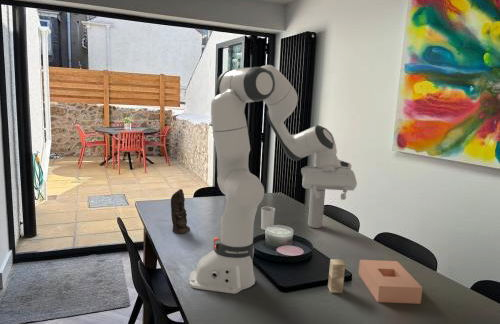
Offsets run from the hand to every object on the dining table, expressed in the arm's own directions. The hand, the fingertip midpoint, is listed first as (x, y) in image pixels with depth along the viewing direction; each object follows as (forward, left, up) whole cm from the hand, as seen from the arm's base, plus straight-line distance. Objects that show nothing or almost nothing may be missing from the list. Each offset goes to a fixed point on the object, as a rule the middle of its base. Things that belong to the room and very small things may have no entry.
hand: (330, 198), depth 139 cm
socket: (+19, -13, -27) cm, 36 cm away
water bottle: (+6, +50, -28) cm, 57 cm away
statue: (-60, +34, -28) cm, 74 cm away
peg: (0, -16, -28) cm, 32 cm away
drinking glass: (-19, +43, -28) cm, 54 cm away
